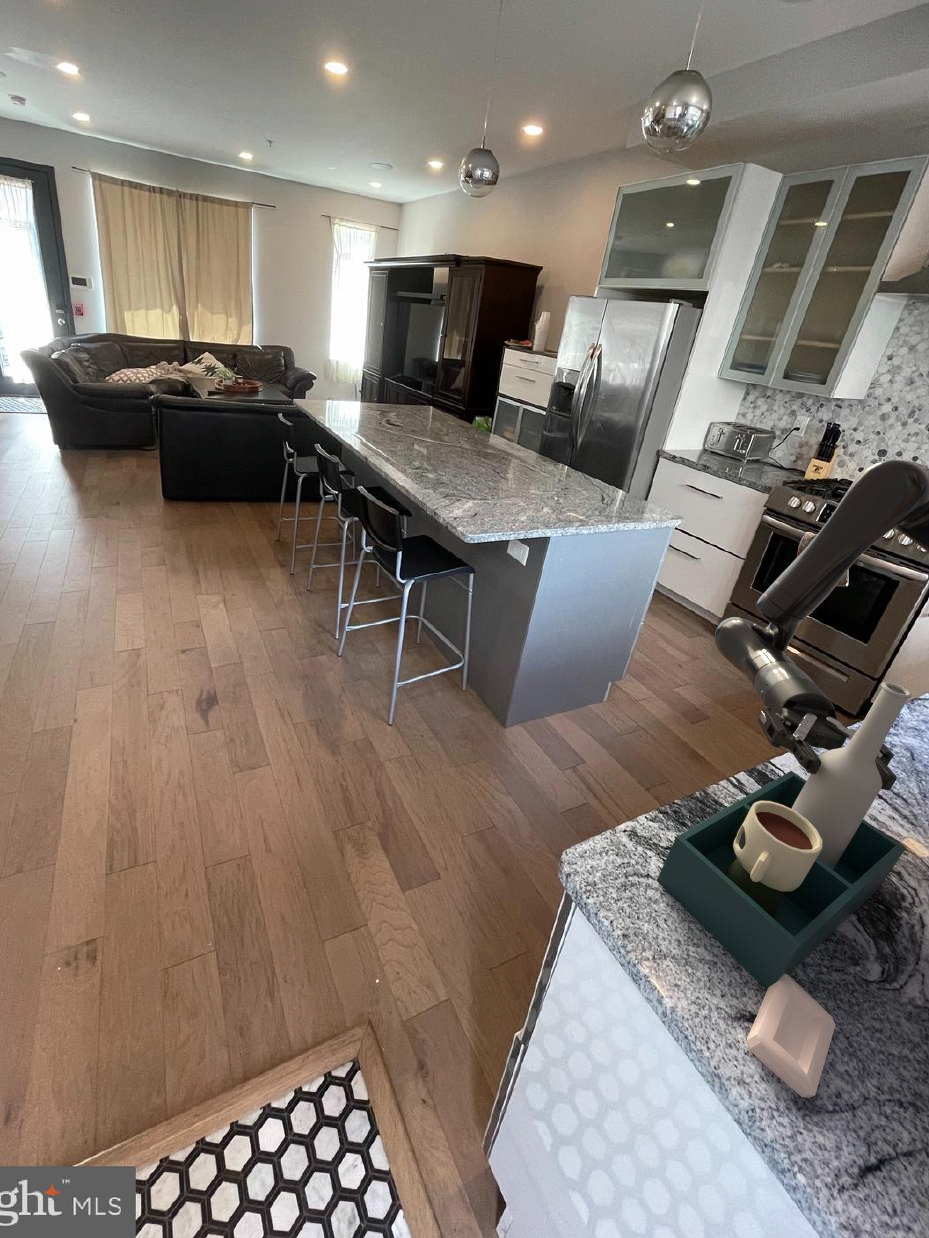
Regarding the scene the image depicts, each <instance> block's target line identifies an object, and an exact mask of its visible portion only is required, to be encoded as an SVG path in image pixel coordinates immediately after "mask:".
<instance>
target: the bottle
mask: <svg viewBox="0 0 929 1238" xmlns="http://www.w3.org/2000/svg"><path fill="white" fill-rule="evenodd" d="M880 686H881V689H880V691H879V693H878V695H877V697H876V698H875V700H874V702H873V704H872V706H870V709H869V711H868V712H867V714H866V715H865V717H864V719H863V721H862V722H861V724H860V725H861V726H860V725H859V726H860V727H859V726H858V727H859V729H858V728H857V729H858V730H857V729H856V730H857V731H856V733H855V734H854V736H853V737H852V739H851V740H850V739H849V741H848V743H847V744H846V745H845V746H842V748H838V749H832V750H827V751H825V752H823V753H821V754H820V756H819V758H820V760H821V766H820V768H819V770H818V771H817V773H816V774H810V773H809V776H808V777H807V780H806V783H805V785H804V787H803V789H802V790H801V792H800V794H799V796H798V798H797V799H796V801H795V803H794V805H793V806H792V808H791V809H792V810H794V811H796V812H797V813H799V814H800V815H801V816H803V817H804V818H805V819H807V820H808V821H809V822H810V823H811V824H812V825H813V826H814V827H815V829H816V830H817V831H818V833H819V835H820V837H821V839H822V849H821V851H820V853H819V855H818V857H817V858H818V859H819V860H820V861H822V862H823V863H824V864H826V865H827V866H828V867H830V868H831V869H832V870H833V869H834V867H835V866H836V864H837V862H838V861H839V859H840V857H841V856H842V854H843V852H844V850H845V849H846V847H847V845H848V844H849V842H850V840H851V839H852V837H853V835H854V834H855V832H856V830H857V829H858V827H859V825H860V823H861V822H862V820H863V819H865V817H866V815H867V813H868V812H869V810H870V809H871V808H872V807H871V806H872V805H873V803H874V802H875V800H876V799H877V797H878V795H879V794H880V792H881V790H882V789H881V787H882V780H881V776H880V774H879V771H878V769H877V767H876V763H875V759H876V757H877V755H878V753H879V751H880V749H881V747H882V745H883V744H884V743H885V740H886V738H887V736H888V735H889V733H890V731H891V729H892V727H893V725H894V724H895V722H896V720H897V719H898V717H899V715H900V714H901V712H902V710H903V708H904V706H905V704H907V701H908V700H909V699H912V693H911V691H909V690H908V689H907V688H905V687H903V686H901V685H899V684H897V683H893V682H888V681H884V682H882V683H881V685H880Z"/></svg>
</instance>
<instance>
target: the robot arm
mask: <svg viewBox="0 0 929 1238" xmlns="http://www.w3.org/2000/svg"><path fill="white" fill-rule="evenodd" d="M893 529H895V530H896V531H898V532H899V533H901V534H903V535H904V536H905V537H906V538H908V539H909V540H910V541H912V542H913V543H915V544H916V545H917V546H919V547H920V548H921V549H923V550H924V551H925V552H927V554H929V467H927V466H926V465H924V464H921V463H918V462H915V461H910V460H903V459H889V460H882V461H879V462H875V463H874V464H871V465H869V466H868V467H866V468H864V469H862V471H861V472H860V473H859V474H858V475H857V476H856V477H855V478H854V480H853V482H852V483H851V485H850V486H849V488H848V489H847V491H846V492H845V494H844V496H843V497H842V498H841V501H839V504H838V505H837V507H836V508H835V510H834V511H833V512H832V514H831V516H830V517H829V518H828V519H827V521H826V523H825V524H824V525H823V526H822V528H821V529H820V530H819V532H818V533H817V535H816V536H815V537H814V538H813V539H812V540H811V542H810V543H809V544H808V545H807V546H806V547H805V548H804V550H803V551H802V552H801V553H800V554H799V555H798V556H797V557H796V558H795V559H793V561H792V562H791V564H790V565H789V566H788V567H787V568H785V569H784V571H783V572H782V573H781V574H780V575H779V576H778V577H777V578H776V579H775V580H774V581H773V583H772V584H771V585H770V586H769V587H768V588H767V589H766V591H764V592H763V593H762V595H761V596H760V597H759V598H758V600H757V602H756V608H757V611H758V612H759V614H760V615H761V616H762V617H763V618H765V620H767V621H769V624H768V625H767V626H766V627H764V626H762V625H760V624H758V623H755V622H752V621H751V620H748V619H746V618H743V617H739V616H733V617H728V618H725V619H724V620H722V621H721V622H720V623H719V624H718V625H717V628H716V629H715V633H714V643H715V646H716V648H717V650H718V652H719V654H721V656H723V658H724V659H726V660H727V662H729V663H730V664H731V665H732V666H734V668H735V669H736V670H738V671H739V672H741V673H742V674H743V675H744V676H745V677H746V679H747V680H748V682H749V683H750V685H751V686H752V688H753V689H754V690H755V692H756V695H757V697H758V700H759V701H760V702H761V703H762V705H763V708H762V710H761V712H760V714H759V716H758V719H757V722H758V724H759V726H760V728H761V730H762V732H763V733H764V735H765V737H766V739H767V740H768V743H769V744H770V745H771V746H772V747H774V748H777V749H780V748H781V747H783V748H785V750H786V752H788V753H789V754H792V756H794V758H795V759H796V761H797V763H798V764H799V765H800V766H801V767H802V768H803V769H804V770H805V771H806V773H808V774H809V775H810V774H816V773H817V771H818V770H819V768H820V766H821V760H820V756H819V755H818V754H817V753H816V752H815V750H814V748H817V749H823V750H827V751H829V750H832V749H838V748H843V747H844V744H845V743H846V741H847V739H848V740H849V741H850V740H851V739H852V737H853V736H854V734H855V733H856V731H857V730H858V729H859V727H860V726H861V724H860V725H858V727H857V729H854V728H850V727H848V726H847V725H846V724H845V723H843V722H842V721H840V720H839V719H838V717H837V713H836V709H835V705H834V703H833V702H832V701H831V700H830V699H829V698H828V697H827V695H826V694H825V693H824V692H823V690H822V689H821V688H820V687H818V685H817V683H815V681H813V680H812V678H811V677H810V676H809V675H808V674H807V673H806V672H805V671H803V669H801V668H800V667H799V666H798V665H797V664H796V663H795V662H794V660H792V658H791V657H790V656H789V655H788V654H787V653H786V651H787V649H788V646H789V645H790V643H791V641H792V639H793V637H794V635H795V634H796V632H797V630H798V628H799V627H800V625H801V624H802V622H804V621H805V620H806V619H807V618H808V617H809V616H810V615H811V614H812V613H813V612H814V611H815V610H816V609H817V608H818V607H819V606H820V605H821V604H822V603H823V602H824V600H826V598H827V597H828V596H829V595H830V594H831V593H832V592H833V590H834V589H835V588H836V586H838V584H839V582H840V581H841V580H842V579H843V577H844V575H845V574H846V573H847V572H848V571H849V569H850V568H851V566H853V564H854V563H855V562H856V561H857V560H858V559H859V558H860V557H861V556H862V555H863V554H864V553H865V552H866V551H867V550H868V549H869V548H870V547H871V546H872V545H874V544H875V543H876V542H878V541H879V540H880V539H882V538H883V537H884V536H885V535H887V534H888V533H890V532H891V531H892V530H893ZM894 757H895V754H894V752H892V750H890V748H889V747H888V746H886V744H885V743H883V745H882V747H881V749H880V751H879V753H878V755H877V757H876V759H875V763H876V767H877V769H878V771H879V774H880V776H881V780H882V787H881V790H884V791H890V790H891V789H892V788H893V786H894V785H895V783H896V780H897V779H898V778H897V775H896V773H894V772H893V771H892V769H890V767H889V764H890V762H891V761H892V759H894Z"/></svg>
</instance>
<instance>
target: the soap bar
mask: <svg viewBox="0 0 929 1238" xmlns="http://www.w3.org/2000/svg"><path fill="white" fill-rule="evenodd" d="M835 1028H836V1023H835V1020H834V1018H833V1016H832V1015H831V1014H829V1012H827V1010H826V1009H825V1008H823V1007H822V1005H820V1004H819V1003H818V1001H817V1000H815V999H814V998H813V997H812V996H811V995H810V994H809V993H808V992H807V991H806V990H805V989H804V988H802V986H801V985H800V984H798V983H797V981H796V980H794V979H793V978H792V977H791V975H790V974H789V975H788V974H784V975H783V976H782V977H781V978H780V979H779V980H778V981H777V982H776V983H775V984H773V985H771V986H770V987H769V988H768V990H766V993H765V995H764V998H763V1000H762V1002H761V1005H760V1007H759V1009H758V1012H757V1014H756V1017H755V1019H754V1021H753V1024H752V1026H751V1028H750V1031H749V1033H748V1036H747V1038H746V1044H747V1047H748V1049H749V1050H750V1052H752V1054H753V1055H754V1056H755V1057H756V1058H757V1059H758V1060H759V1061H760V1062H761V1063H762V1064H763V1065H765V1066H766V1067H767V1068H768V1069H769V1070H770V1071H771V1072H773V1073H774V1074H775V1075H776V1076H777V1077H778V1078H779V1079H780V1080H781V1081H783V1082H784V1083H785V1084H786V1085H788V1086H789V1088H791V1089H792V1090H793V1091H794V1092H795V1093H797V1094H798V1095H799V1096H800V1097H801V1098H806V1099H811V1098H812V1097H814V1096H816V1094H817V1091H818V1087H819V1083H820V1080H821V1076H822V1073H823V1069H824V1066H825V1062H826V1059H827V1055H828V1053H829V1049H830V1045H831V1043H832V1038H833V1035H834V1032H835Z"/></svg>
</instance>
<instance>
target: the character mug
mask: <svg viewBox="0 0 929 1238" xmlns="http://www.w3.org/2000/svg"><path fill="white" fill-rule="evenodd" d="M733 848H734V852H735V854H736V856H737V858H736V860H735V861H734V862H733V863H732V864H731V866H730V867H729V868H728V869H727V871H726V872H725V873H724V875H726V876H727V877H728V878H729V879H730V880H731V881H732V882H733V883H734V884H736V885H737V886H738V887H739V888H740V889H741V890H742V891H743V892H745V893H746V894H747V895H748V896H749V897H750V898H751V899H752V900H753V901H755V902H756V903H757V904H758V905H759V906H760V907H761V908H762V909H763V910H765V911H766V912H767V913H768V914H769V915H770V916H771V917H772V918H773V919H774V918H775V916H776V913H777V911H778V909H779V906H780V903H781V900H782V897H783V894H784V891H793V890H795V889H796V888H798V887H799V886H800V885H801V883H802V882H803V880H804V878H805V877H806V875H807V873H808V872H809V870H810V868H811V867H812V865H813V863H814V862H815V860H816V858H817V857H818V855H819V853H820V851H821V849H822V839H821V837H820V835H819V833H818V831H817V830H816V829H815V827H814V826H813V825H812V824H811V823H810V822H809V821H808V820H807V819H805V818H804V817H803V816H801V815H800V814H799V813H797V812H796V811H794V810H792V809H790V808H788V807H786V806H784V805H782V804H778V803H775V802H771V801H758V802H755V803H754V804H753V805H752V807H751V809H750V811H749V813H748V815H747V817H746V819H745V821H744V822H743V824H742V826H741V828H740V830H739V831H738V834H737V836H736V838H735V840H734V845H733Z"/></svg>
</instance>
